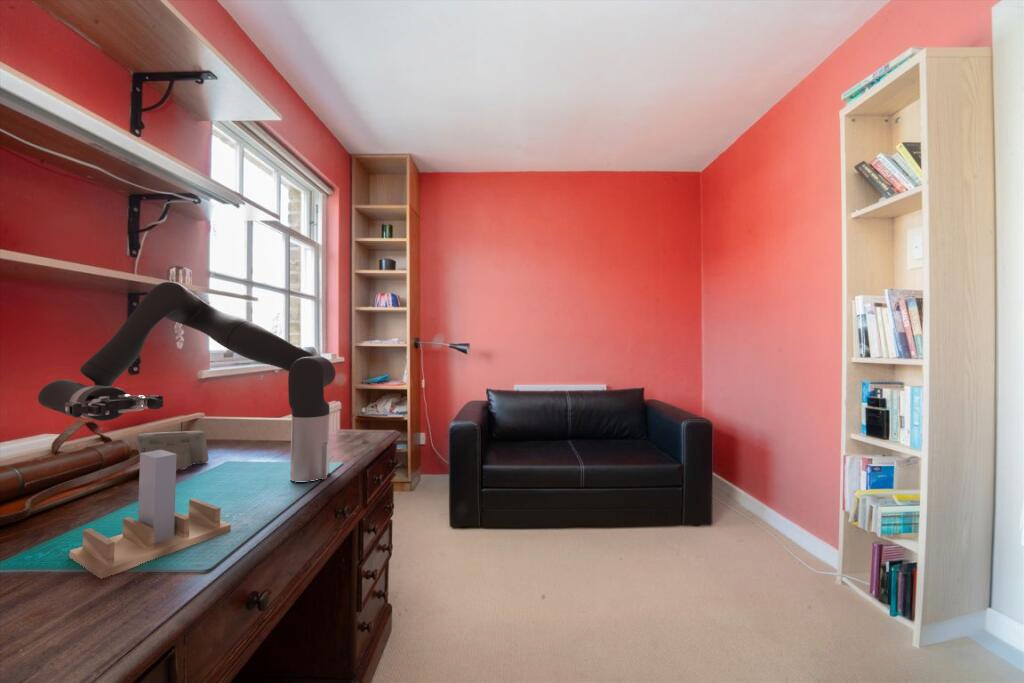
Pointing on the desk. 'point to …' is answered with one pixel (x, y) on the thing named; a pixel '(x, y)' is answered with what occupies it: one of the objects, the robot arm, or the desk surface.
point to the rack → (147, 540)
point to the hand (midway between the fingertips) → (132, 406)
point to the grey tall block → (157, 492)
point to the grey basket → (177, 446)
